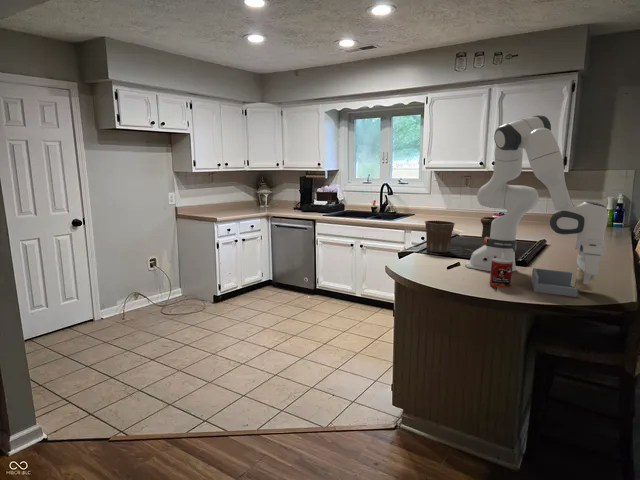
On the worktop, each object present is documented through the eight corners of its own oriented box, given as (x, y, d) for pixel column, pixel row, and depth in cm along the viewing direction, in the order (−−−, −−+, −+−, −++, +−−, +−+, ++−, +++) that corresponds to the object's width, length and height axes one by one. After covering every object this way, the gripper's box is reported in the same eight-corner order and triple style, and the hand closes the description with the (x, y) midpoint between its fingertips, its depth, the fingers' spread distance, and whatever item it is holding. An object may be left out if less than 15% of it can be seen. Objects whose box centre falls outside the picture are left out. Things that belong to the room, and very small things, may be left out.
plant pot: (429, 246, 249) (431, 219, 246) (456, 250, 240) (459, 222, 237) (418, 251, 236) (420, 222, 233) (446, 255, 227) (449, 225, 224)
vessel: (500, 258, 222) (503, 220, 218) (474, 254, 231) (476, 217, 228) (510, 254, 232) (513, 218, 229) (484, 251, 242) (487, 216, 238)
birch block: (576, 288, 160) (579, 270, 159) (574, 285, 165) (577, 268, 164) (592, 290, 158) (594, 272, 157) (589, 287, 163) (592, 269, 162)
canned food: (489, 288, 168) (492, 260, 166) (489, 282, 175) (491, 256, 173) (510, 290, 165) (513, 262, 163) (509, 285, 173) (512, 258, 171)
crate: (533, 294, 161) (535, 277, 160) (531, 283, 176) (532, 268, 175) (576, 299, 156) (578, 282, 155) (569, 287, 171) (571, 272, 170)
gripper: (575, 240, 169) (570, 274, 172) (584, 249, 151) (578, 287, 153) (593, 242, 167) (588, 276, 169) (605, 251, 148) (599, 289, 151)
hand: (584, 281), depth 161 cm, fingers closed on birch block, 5 cm apart
